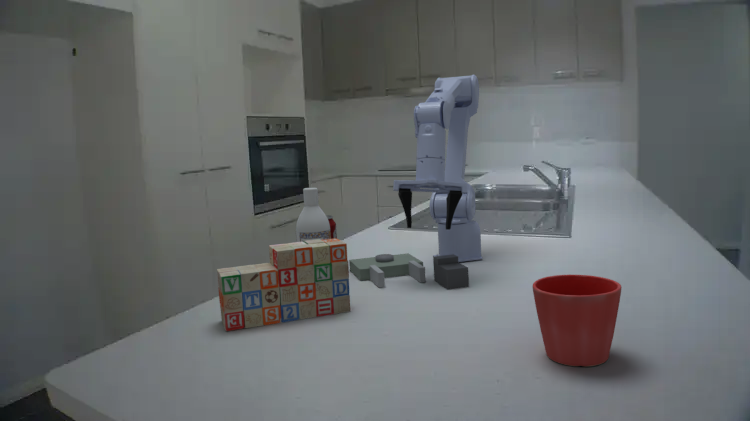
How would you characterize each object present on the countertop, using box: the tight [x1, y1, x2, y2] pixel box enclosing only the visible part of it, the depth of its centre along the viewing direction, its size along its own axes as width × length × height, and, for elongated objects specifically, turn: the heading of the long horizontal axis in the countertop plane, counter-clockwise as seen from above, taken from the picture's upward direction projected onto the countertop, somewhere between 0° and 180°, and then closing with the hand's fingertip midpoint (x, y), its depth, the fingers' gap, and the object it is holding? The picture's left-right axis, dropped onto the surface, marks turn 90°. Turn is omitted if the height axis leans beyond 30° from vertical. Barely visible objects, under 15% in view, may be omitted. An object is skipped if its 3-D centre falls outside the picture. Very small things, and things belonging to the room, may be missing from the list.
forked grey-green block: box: [348, 252, 427, 289], centre depth 121 cm, size 14×17×3 cm
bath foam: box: [295, 187, 331, 242], centre depth 115 cm, size 7×7×20 cm
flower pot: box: [532, 274, 622, 367], centre depth 73 cm, size 11×11×10 cm
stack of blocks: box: [216, 237, 351, 332], centre depth 96 cm, size 21×6×12 cm, turn 111°
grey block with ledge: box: [432, 254, 470, 291], centre depth 111 cm, size 4×7×5 cm, turn 15°
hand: (428, 228), depth 111 cm, fingers open, 7 cm apart
